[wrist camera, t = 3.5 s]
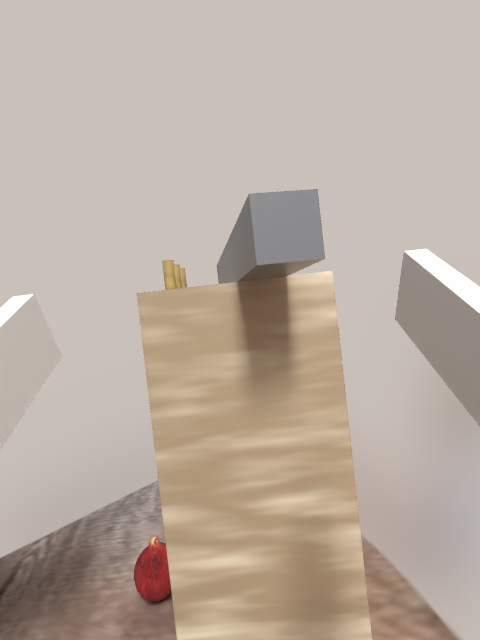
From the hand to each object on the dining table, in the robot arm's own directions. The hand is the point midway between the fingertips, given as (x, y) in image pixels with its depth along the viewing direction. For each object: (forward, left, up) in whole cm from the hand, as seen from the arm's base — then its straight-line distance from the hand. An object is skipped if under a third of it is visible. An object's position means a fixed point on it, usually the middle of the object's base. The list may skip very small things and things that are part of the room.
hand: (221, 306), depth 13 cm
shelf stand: (-20, +12, -36) cm, 43 cm away
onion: (-35, +4, -36) cm, 50 cm away
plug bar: (-17, +12, +2) cm, 21 cm away
